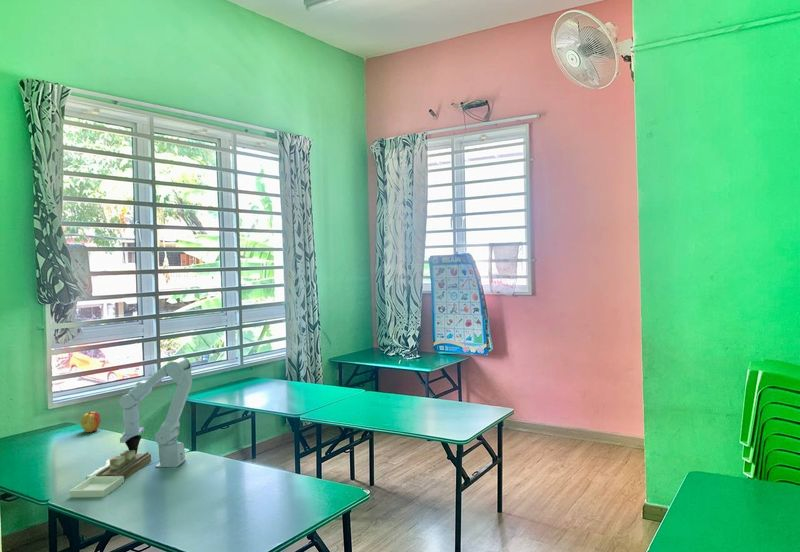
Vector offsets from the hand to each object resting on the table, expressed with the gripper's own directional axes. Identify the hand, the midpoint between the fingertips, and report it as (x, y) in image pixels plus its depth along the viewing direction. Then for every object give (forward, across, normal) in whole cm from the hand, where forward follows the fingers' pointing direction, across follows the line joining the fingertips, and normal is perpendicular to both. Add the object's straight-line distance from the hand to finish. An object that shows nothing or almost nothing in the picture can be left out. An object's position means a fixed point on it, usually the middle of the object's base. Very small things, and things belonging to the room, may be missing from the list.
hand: (133, 454), depth 237 cm
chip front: (+1, +11, 0) cm, 11 cm away
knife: (+5, +1, -13) cm, 14 cm away
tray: (+4, +25, 0) cm, 25 cm away
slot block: (+4, +7, 0) cm, 8 cm away
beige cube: (+1, +5, 0) cm, 5 cm away
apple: (+5, -46, -50) cm, 68 cm away
